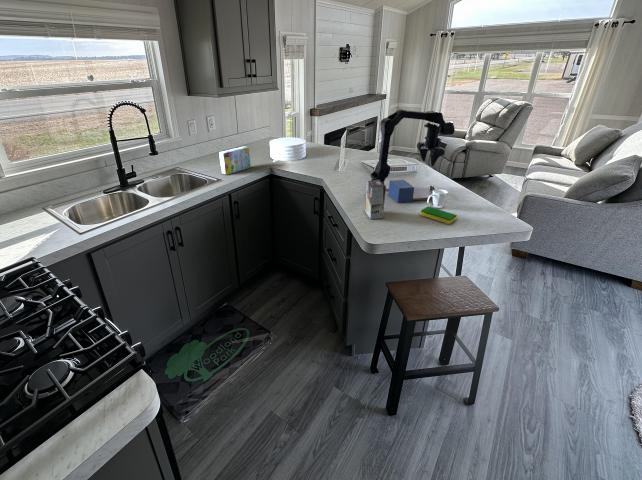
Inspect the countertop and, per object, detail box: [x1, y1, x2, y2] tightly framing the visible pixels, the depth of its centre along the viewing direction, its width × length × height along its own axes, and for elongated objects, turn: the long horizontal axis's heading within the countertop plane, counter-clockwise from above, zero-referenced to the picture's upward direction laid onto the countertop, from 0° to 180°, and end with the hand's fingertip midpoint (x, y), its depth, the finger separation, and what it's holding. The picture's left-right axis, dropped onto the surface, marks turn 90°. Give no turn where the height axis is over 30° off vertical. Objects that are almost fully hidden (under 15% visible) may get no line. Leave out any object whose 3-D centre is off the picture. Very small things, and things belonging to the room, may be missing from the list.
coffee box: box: [364, 179, 387, 220], centre depth 153 cm, size 9×6×16 cm
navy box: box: [388, 179, 438, 204], centre depth 173 cm, size 25×13×8 cm, turn 97°
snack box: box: [218, 145, 252, 176], centre depth 223 cm, size 21×6×15 cm, turn 134°
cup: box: [426, 188, 449, 209], centre depth 161 cm, size 7×10×8 cm
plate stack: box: [269, 136, 307, 162], centre depth 255 cm, size 28×28×12 cm
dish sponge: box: [419, 205, 458, 225], centre depth 152 cm, size 7×14×2 cm, turn 41°
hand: (427, 163), depth 181 cm, fingers open, 9 cm apart
